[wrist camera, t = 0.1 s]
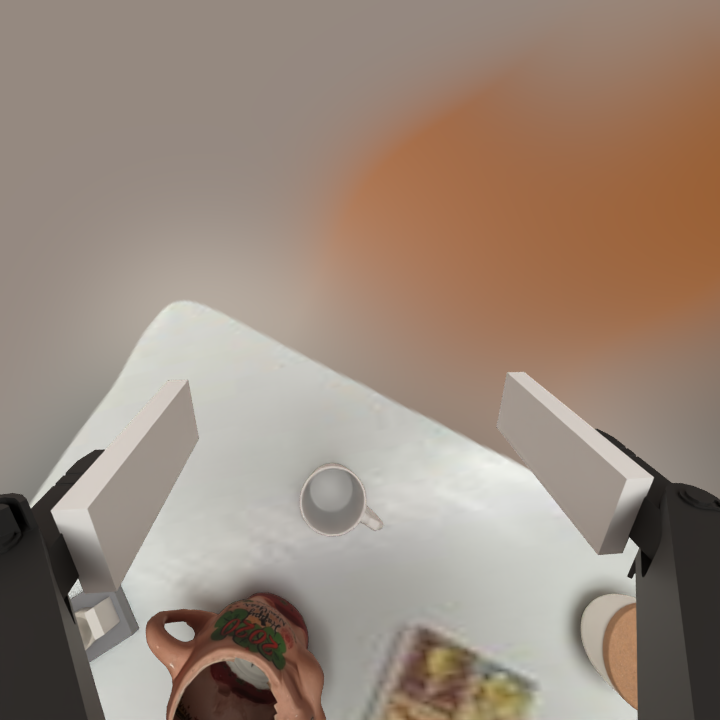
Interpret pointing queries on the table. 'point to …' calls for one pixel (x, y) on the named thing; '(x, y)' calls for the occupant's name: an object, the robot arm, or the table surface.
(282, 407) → the table surface
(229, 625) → the decorative planter
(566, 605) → the table surface
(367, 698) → the table surface
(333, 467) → the mug
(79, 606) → the holder
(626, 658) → the lidded jar
